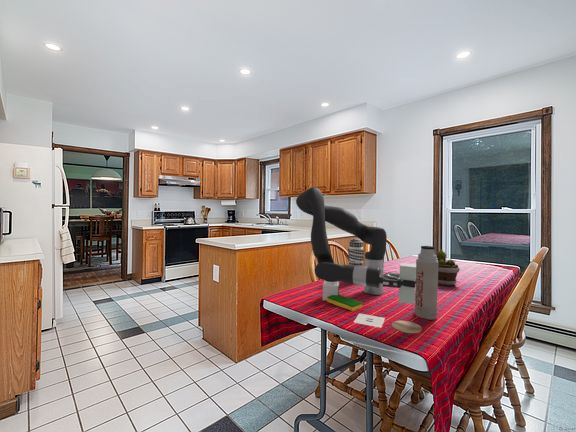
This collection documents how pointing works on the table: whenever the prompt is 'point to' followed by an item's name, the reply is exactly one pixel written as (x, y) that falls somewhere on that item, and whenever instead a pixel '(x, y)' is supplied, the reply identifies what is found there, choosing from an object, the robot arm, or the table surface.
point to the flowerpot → (446, 270)
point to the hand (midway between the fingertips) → (415, 282)
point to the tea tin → (407, 292)
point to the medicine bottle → (330, 288)
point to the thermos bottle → (426, 283)
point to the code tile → (369, 320)
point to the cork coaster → (406, 326)
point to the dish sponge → (344, 302)
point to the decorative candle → (355, 252)
